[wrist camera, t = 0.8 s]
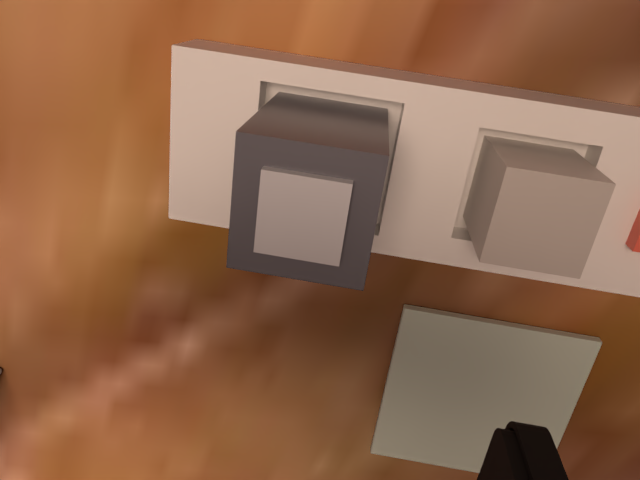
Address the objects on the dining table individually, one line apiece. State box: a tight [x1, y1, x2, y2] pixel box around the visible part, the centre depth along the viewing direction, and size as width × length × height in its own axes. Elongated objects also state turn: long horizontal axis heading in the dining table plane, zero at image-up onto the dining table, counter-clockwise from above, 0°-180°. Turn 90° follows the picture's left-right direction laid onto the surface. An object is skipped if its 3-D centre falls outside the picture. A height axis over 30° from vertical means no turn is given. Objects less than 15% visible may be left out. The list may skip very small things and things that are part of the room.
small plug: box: [463, 135, 616, 279], centre depth 23 cm, size 4×4×5 cm
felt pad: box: [371, 304, 602, 473], centre depth 33 cm, size 11×11×1 cm
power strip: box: [169, 39, 640, 297], centre depth 25 cm, size 32×8×4 cm, turn 82°
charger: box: [226, 92, 389, 291], centre depth 22 cm, size 5×5×8 cm
